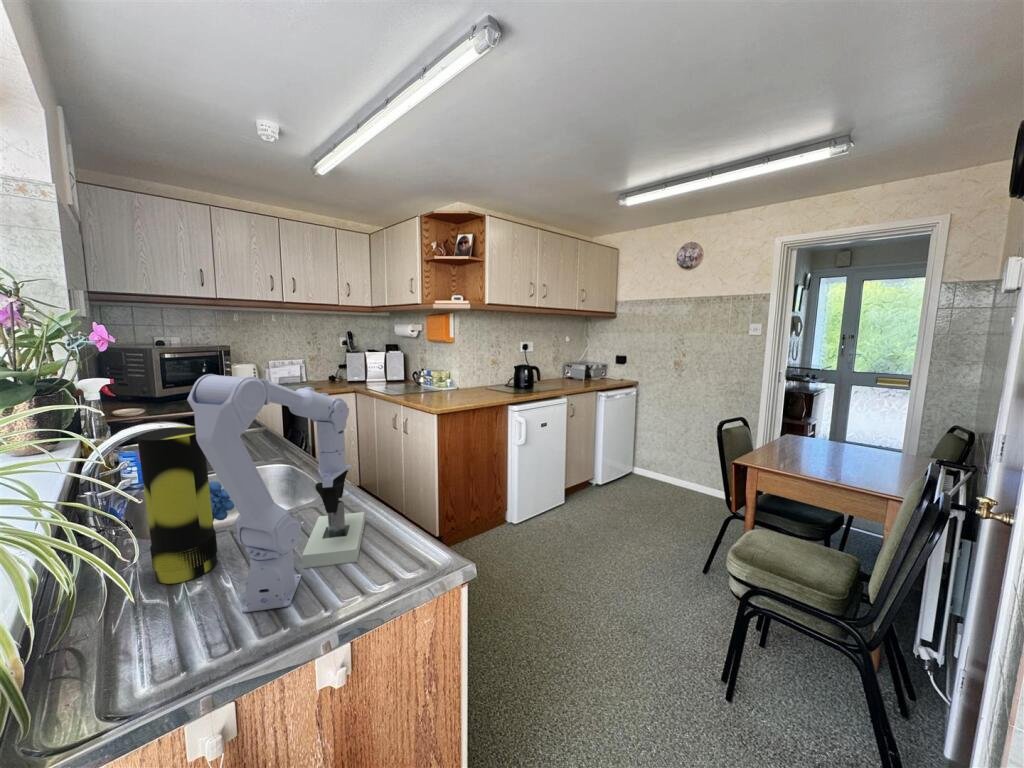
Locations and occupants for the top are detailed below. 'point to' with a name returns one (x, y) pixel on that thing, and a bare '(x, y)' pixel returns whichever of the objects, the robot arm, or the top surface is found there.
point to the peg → (337, 522)
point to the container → (177, 504)
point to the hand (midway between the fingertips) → (334, 504)
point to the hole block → (334, 542)
